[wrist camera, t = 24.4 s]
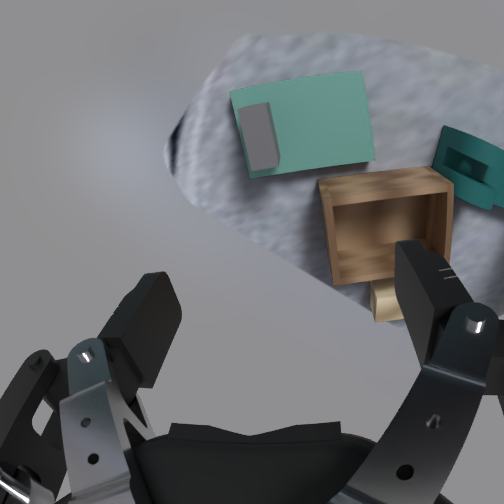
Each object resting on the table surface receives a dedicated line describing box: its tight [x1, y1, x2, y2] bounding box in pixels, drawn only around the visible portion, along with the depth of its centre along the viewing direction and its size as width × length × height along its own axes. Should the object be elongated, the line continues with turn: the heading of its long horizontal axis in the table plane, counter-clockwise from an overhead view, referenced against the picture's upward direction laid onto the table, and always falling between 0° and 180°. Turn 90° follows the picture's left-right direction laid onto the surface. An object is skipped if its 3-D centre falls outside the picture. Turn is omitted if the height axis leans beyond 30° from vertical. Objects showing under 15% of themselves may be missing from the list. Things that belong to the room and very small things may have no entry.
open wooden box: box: [318, 166, 454, 286], centre depth 34 cm, size 14×10×7 cm
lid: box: [229, 71, 375, 179], centre depth 30 cm, size 14×10×7 cm
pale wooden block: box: [370, 277, 404, 322], centre depth 40 cm, size 4×10×4 cm, turn 100°
